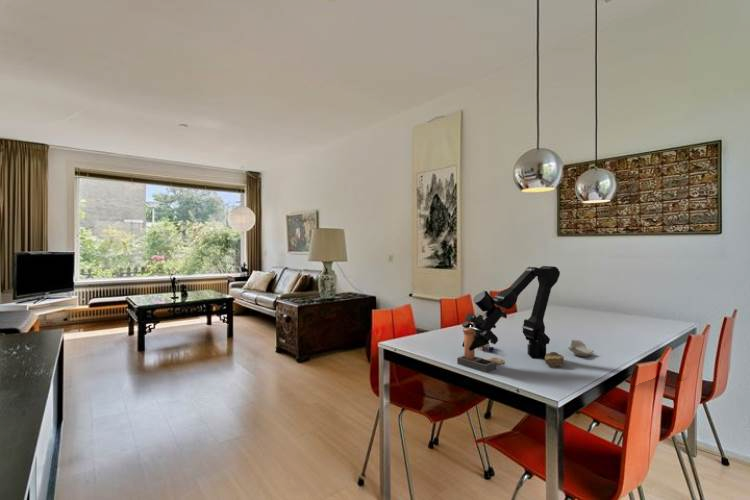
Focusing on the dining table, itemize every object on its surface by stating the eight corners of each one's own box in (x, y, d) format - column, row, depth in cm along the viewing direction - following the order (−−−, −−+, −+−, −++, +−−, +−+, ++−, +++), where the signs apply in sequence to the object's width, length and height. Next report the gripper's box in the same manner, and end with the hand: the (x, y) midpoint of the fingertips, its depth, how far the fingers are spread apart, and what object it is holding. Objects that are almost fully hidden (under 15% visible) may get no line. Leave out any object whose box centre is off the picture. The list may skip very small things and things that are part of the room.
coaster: (501, 358, 153) (501, 357, 153) (506, 364, 145) (506, 363, 145) (482, 358, 154) (482, 357, 154) (486, 364, 146) (486, 363, 146)
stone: (538, 359, 155) (540, 347, 155) (556, 363, 153) (559, 352, 153) (544, 366, 142) (546, 353, 142) (564, 371, 140) (566, 358, 140)
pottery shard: (577, 359, 151) (577, 347, 151) (558, 351, 162) (558, 340, 162) (598, 357, 153) (598, 345, 153) (578, 350, 164) (578, 339, 164)
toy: (493, 339, 159) (480, 318, 170) (478, 345, 159) (466, 323, 171) (496, 356, 166) (484, 334, 177) (482, 361, 166) (471, 339, 178)
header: (467, 360, 151) (467, 354, 151) (496, 368, 141) (496, 362, 141) (457, 363, 147) (457, 357, 147) (485, 372, 137) (485, 365, 137)
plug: (474, 362, 149) (474, 327, 149) (476, 366, 144) (476, 330, 144) (462, 362, 149) (462, 327, 149) (464, 366, 144) (463, 330, 144)
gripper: (465, 302, 156) (442, 330, 154) (490, 309, 138) (465, 340, 136) (482, 319, 159) (459, 347, 156) (508, 328, 141) (484, 359, 138)
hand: (466, 348), depth 146 cm, fingers open, 5 cm apart
